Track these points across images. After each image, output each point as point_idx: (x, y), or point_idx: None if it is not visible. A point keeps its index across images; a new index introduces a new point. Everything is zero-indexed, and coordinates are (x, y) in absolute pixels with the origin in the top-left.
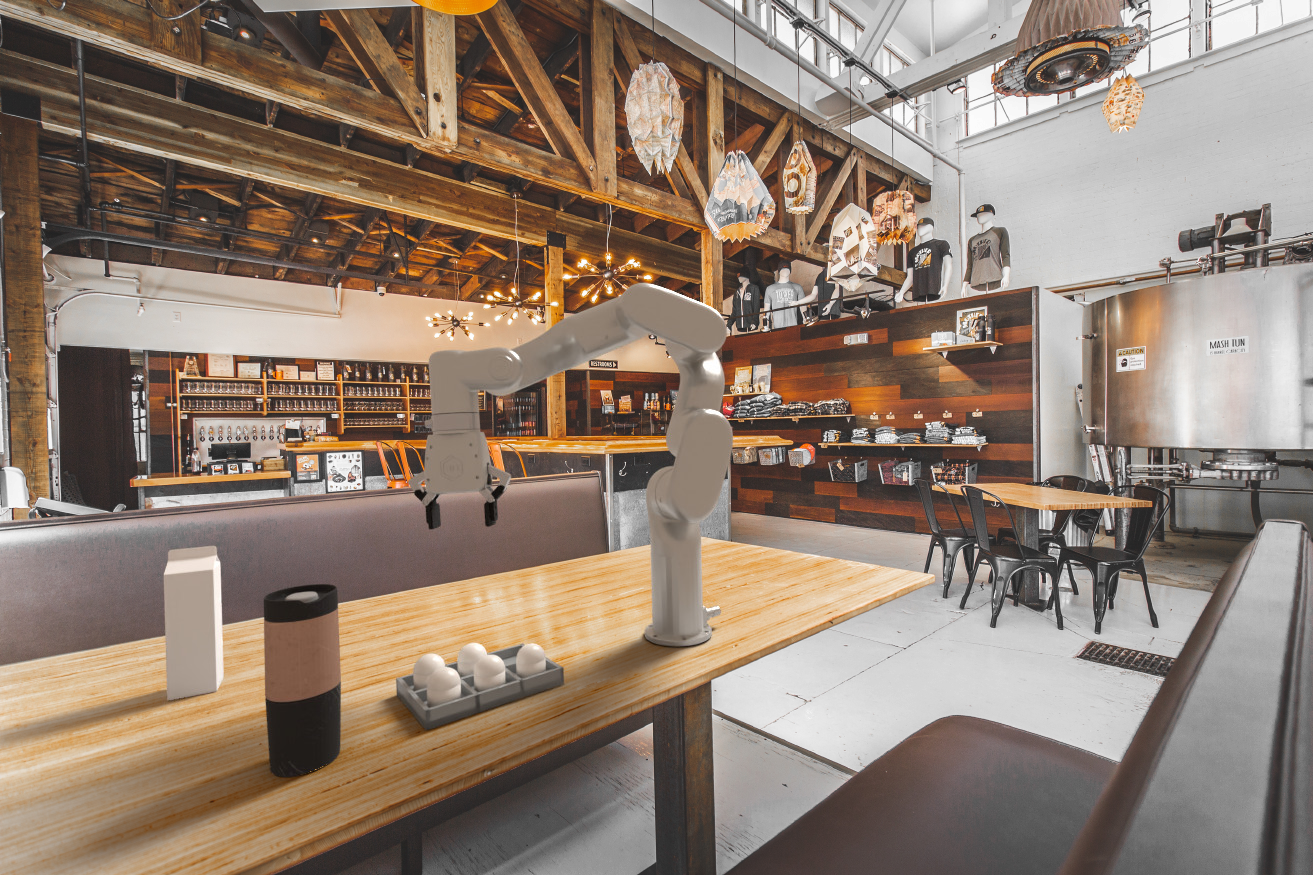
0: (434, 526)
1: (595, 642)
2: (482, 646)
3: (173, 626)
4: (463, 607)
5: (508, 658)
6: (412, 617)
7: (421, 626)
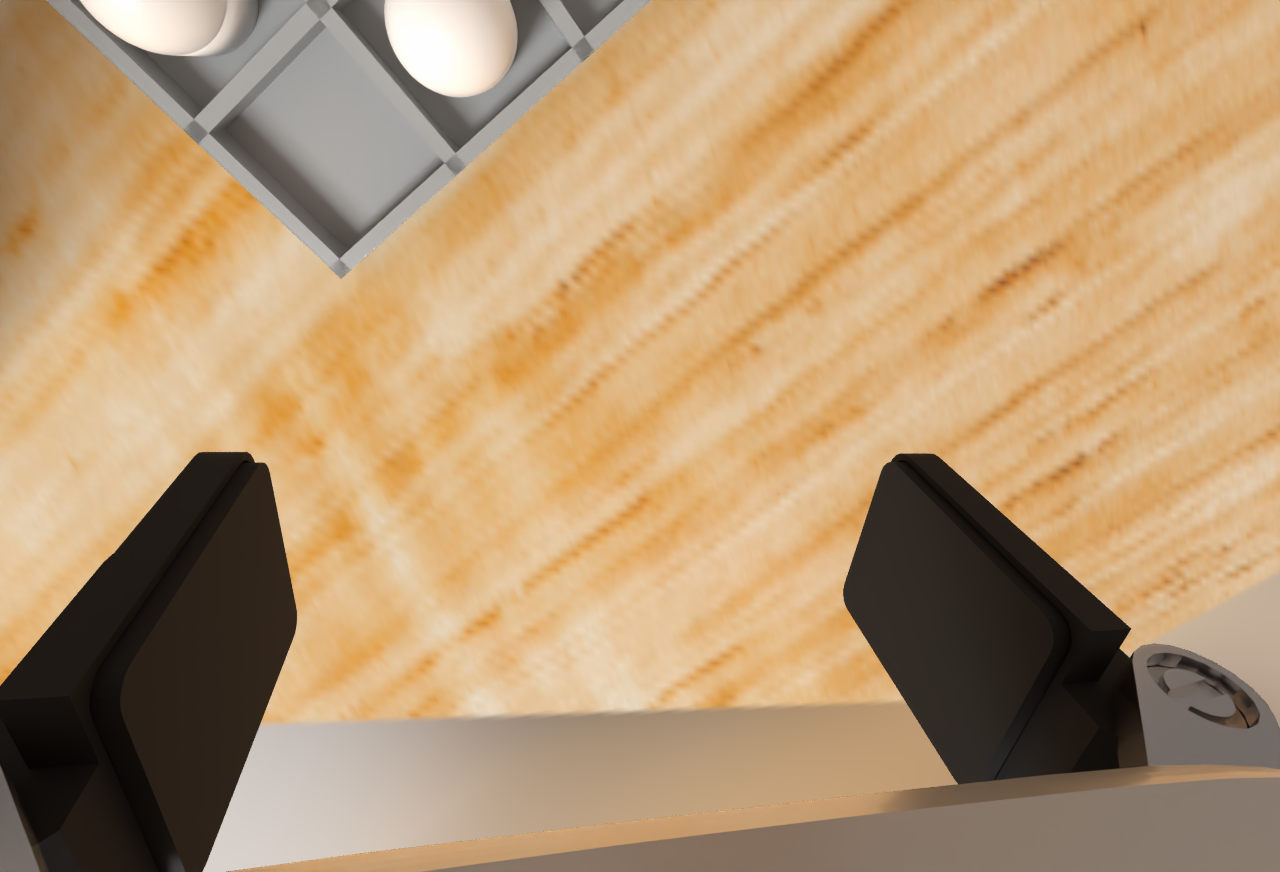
0: (885, 495)
1: (124, 398)
2: (402, 38)
3: None
4: (725, 682)
5: (384, 208)
6: None
7: (809, 545)
